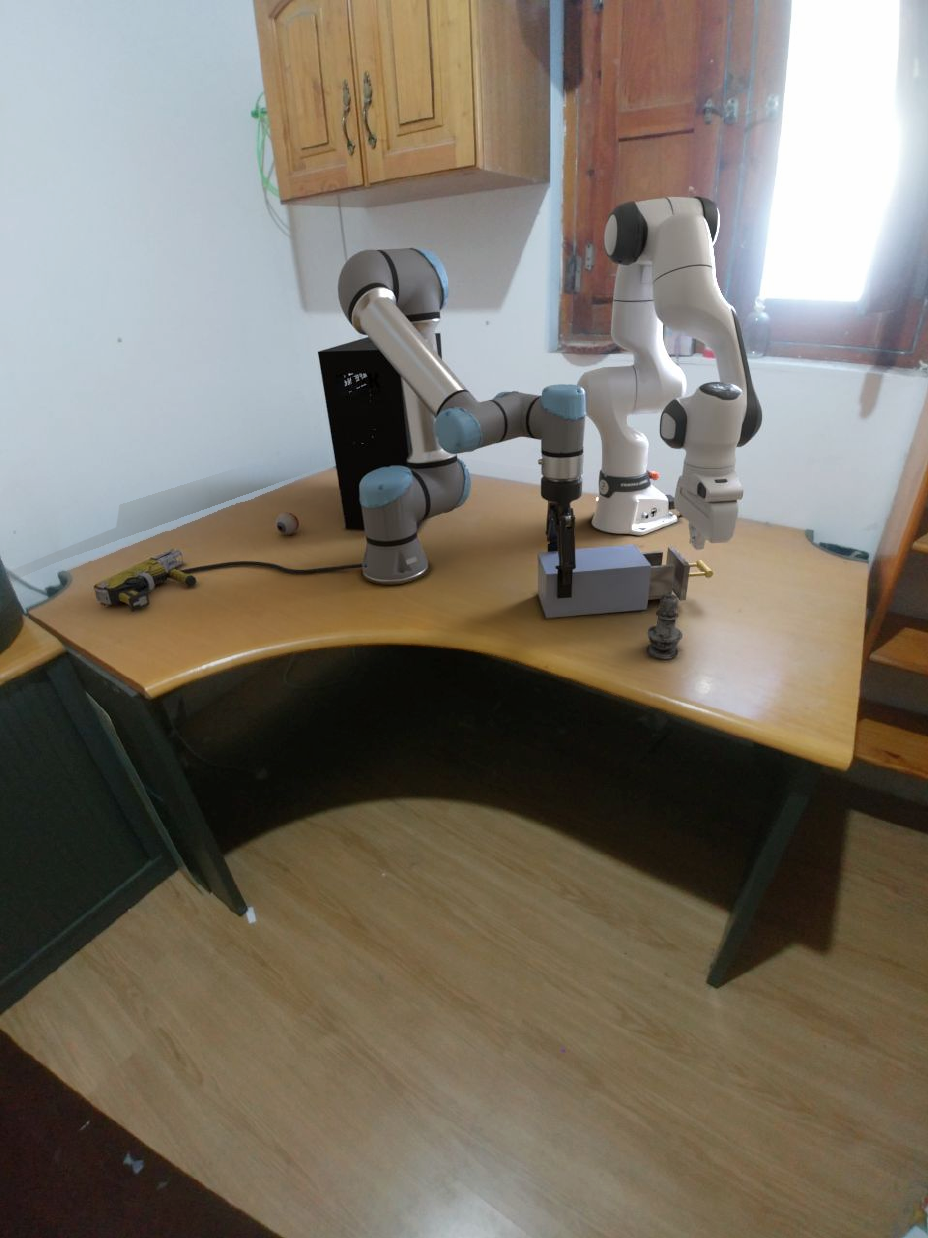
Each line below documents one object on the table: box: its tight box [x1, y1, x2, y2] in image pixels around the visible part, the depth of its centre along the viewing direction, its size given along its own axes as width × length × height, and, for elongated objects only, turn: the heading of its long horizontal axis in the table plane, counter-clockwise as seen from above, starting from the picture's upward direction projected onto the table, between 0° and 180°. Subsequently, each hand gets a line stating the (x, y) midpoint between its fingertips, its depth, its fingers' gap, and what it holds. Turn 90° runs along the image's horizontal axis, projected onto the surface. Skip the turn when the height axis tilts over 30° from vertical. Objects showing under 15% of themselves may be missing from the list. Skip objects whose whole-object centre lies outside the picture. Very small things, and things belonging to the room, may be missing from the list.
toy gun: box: [93, 548, 197, 612], centre depth 139 cm, size 5×24×15 cm
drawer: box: [641, 546, 714, 602], centre depth 121 cm, size 24×9×8 cm, turn 93°
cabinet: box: [537, 544, 651, 619], centre depth 121 cm, size 20×10×10 cm, turn 93°
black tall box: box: [317, 332, 443, 530], centre depth 169 cm, size 38×20×45 cm, turn 167°
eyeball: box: [275, 511, 300, 536], centre depth 163 cm, size 6×6×6 cm
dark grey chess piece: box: [646, 590, 683, 660], centre depth 104 cm, size 6×6×12 cm
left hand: (558, 584), depth 121 cm, fingers closed on cabinet, 10 cm apart
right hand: (696, 546), depth 118 cm, fingers closed
